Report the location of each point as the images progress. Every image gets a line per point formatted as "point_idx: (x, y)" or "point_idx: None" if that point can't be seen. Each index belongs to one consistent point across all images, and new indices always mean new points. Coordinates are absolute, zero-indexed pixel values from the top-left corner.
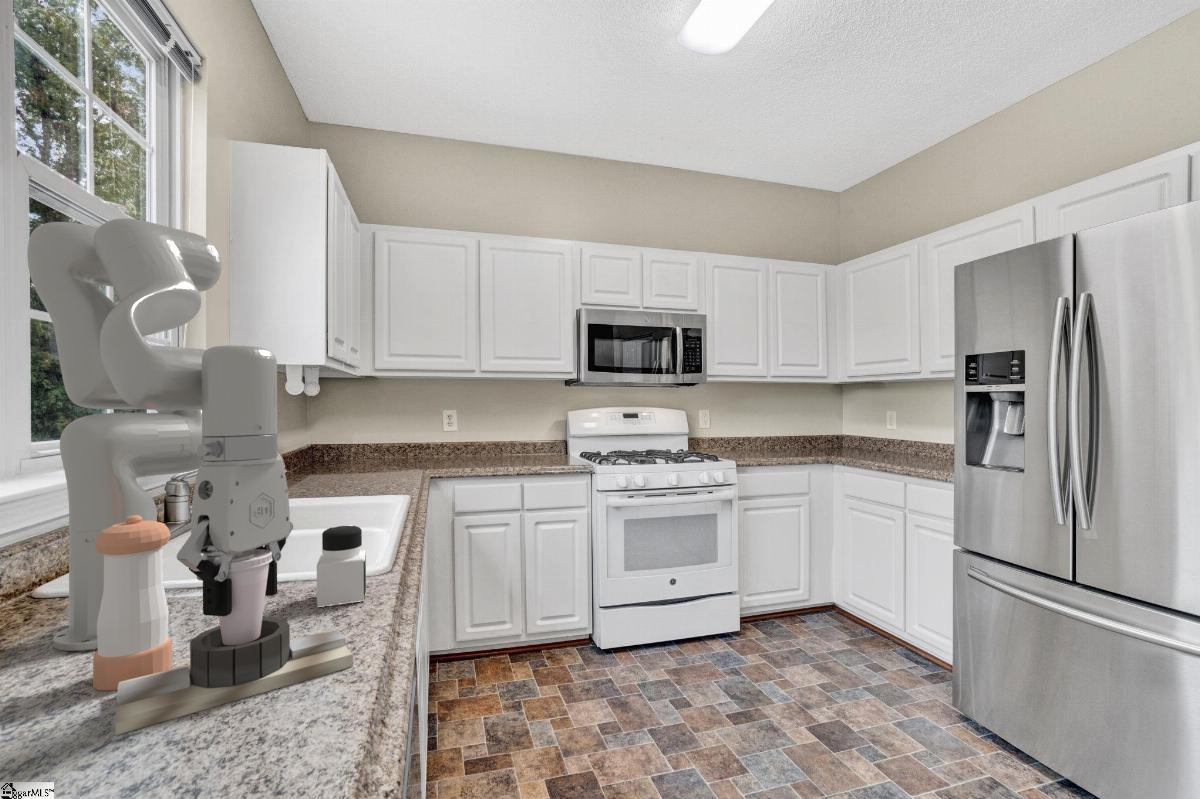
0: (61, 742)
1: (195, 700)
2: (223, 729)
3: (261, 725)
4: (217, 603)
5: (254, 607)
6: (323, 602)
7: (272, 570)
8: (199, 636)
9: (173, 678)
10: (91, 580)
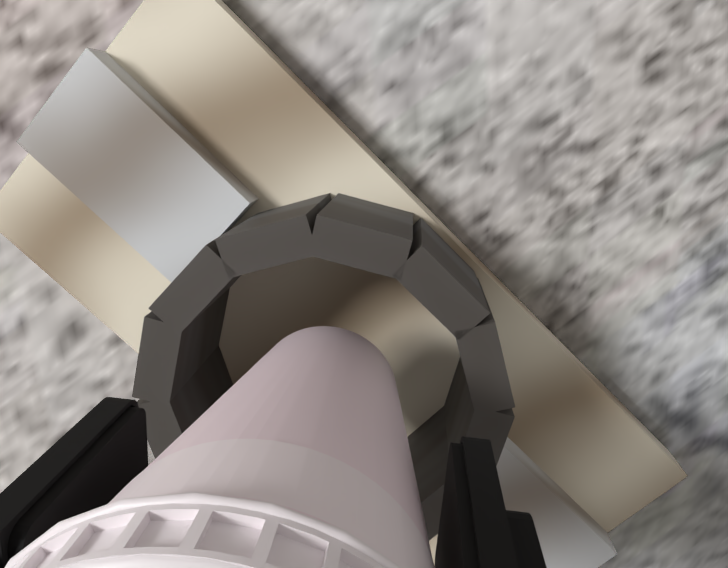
0: (692, 553)
1: (555, 341)
2: (649, 163)
3: (630, 47)
4: (525, 524)
5: (331, 381)
6: None
7: (47, 500)
8: None
9: None
10: None
